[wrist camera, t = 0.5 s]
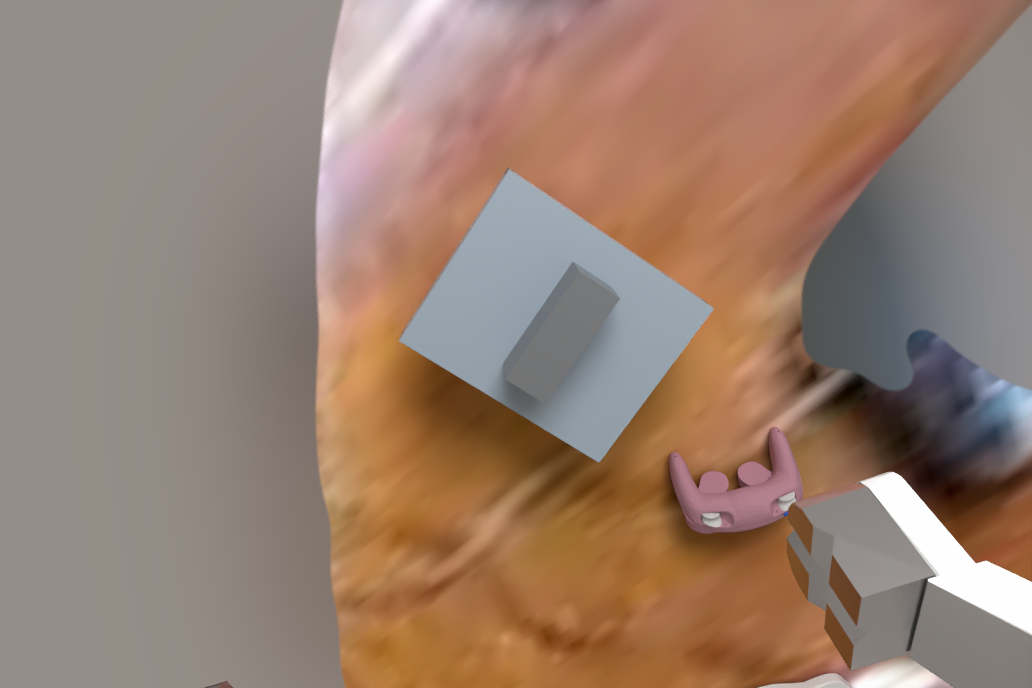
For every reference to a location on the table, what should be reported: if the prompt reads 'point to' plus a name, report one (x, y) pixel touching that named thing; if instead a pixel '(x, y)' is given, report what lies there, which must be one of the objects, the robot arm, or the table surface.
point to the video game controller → (739, 492)
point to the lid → (554, 317)
